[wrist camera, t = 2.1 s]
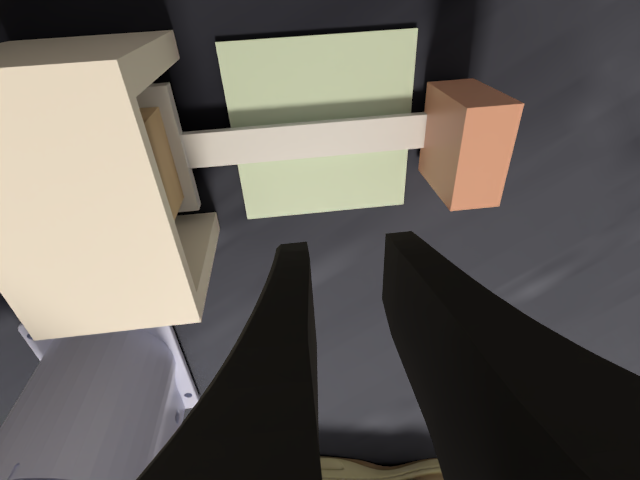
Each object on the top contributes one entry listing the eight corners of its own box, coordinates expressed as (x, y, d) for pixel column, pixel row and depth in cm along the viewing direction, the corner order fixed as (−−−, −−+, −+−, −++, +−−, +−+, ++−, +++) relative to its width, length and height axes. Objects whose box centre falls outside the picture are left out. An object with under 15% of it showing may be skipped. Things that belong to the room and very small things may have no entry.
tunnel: (99, 240, 19) (34, 340, 14) (8, 40, 14) (-149, 78, 9) (219, 228, 20) (201, 322, 14) (173, 30, 15) (116, 59, 9)
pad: (247, 217, 20) (247, 219, 19) (215, 41, 15) (215, 42, 15) (402, 202, 20) (403, 204, 20) (416, 27, 15) (417, 28, 15)
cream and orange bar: (93, 214, 18) (53, 266, 15) (38, 92, 15) (-28, 124, 12) (456, 179, 19) (495, 222, 16) (476, 59, 16) (530, 79, 13)
